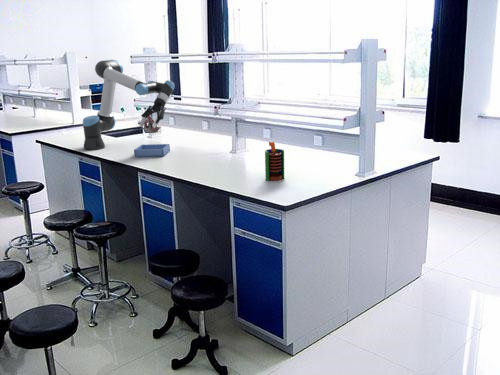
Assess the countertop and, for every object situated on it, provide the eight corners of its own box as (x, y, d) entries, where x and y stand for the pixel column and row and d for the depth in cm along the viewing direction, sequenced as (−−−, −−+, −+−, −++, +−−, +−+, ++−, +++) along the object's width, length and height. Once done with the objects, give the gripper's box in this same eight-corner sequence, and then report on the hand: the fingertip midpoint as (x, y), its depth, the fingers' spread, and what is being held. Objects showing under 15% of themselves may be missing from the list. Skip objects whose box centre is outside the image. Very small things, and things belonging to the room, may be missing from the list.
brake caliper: (137, 129, 342) (143, 114, 345) (147, 137, 351) (153, 121, 354) (149, 130, 336) (156, 114, 340) (159, 138, 345) (165, 122, 348)
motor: (272, 182, 268) (271, 145, 263) (261, 179, 275) (260, 142, 270) (286, 178, 274) (286, 142, 268) (276, 175, 281) (275, 140, 275)
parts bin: (134, 157, 342) (133, 149, 340) (142, 151, 359) (141, 144, 357) (163, 156, 340) (163, 149, 338) (170, 151, 357) (169, 144, 356)
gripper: (176, 104, 346) (162, 130, 338) (152, 103, 359) (138, 128, 351) (170, 97, 340) (156, 124, 332) (145, 96, 353) (131, 122, 346)
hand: (147, 126), depth 342 cm, fingers closed on brake caliper, 11 cm apart
